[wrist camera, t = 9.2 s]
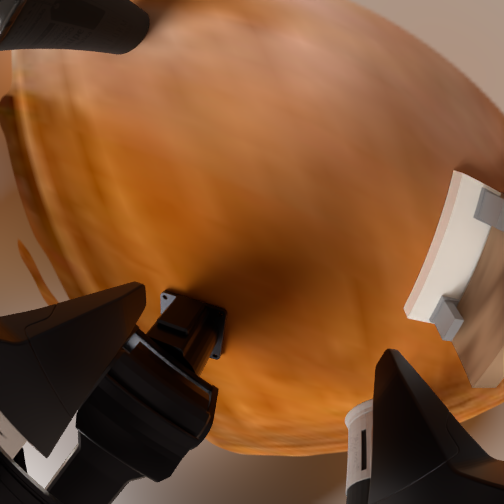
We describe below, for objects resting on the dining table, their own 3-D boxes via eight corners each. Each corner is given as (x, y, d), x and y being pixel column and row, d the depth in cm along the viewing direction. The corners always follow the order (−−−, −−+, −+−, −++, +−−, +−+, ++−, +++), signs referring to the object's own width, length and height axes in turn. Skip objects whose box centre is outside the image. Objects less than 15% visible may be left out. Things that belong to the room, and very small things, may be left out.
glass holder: (351, 437, 29) (344, 532, 15) (326, 379, 25) (312, 516, 11) (412, 422, 26) (421, 518, 12) (409, 356, 22) (435, 495, 8)
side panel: (485, 325, 19) (502, 353, 15) (403, 307, 20) (416, 341, 16) (533, 214, 14) (560, 230, 10) (453, 170, 15) (483, 179, 11)
